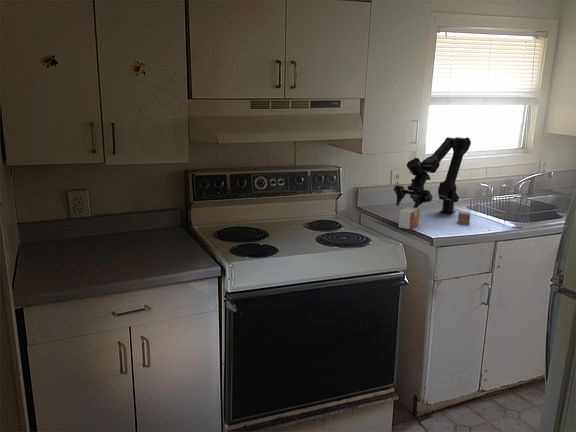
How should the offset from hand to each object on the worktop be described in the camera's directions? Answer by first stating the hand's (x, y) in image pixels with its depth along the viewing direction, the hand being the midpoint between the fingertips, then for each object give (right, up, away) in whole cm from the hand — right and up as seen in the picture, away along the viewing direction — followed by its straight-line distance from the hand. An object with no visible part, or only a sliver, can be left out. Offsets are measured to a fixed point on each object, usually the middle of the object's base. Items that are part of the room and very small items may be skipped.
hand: (405, 207), depth 256 cm
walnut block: (+28, -7, +3) cm, 30 cm away
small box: (+3, -4, -3) cm, 6 cm away
